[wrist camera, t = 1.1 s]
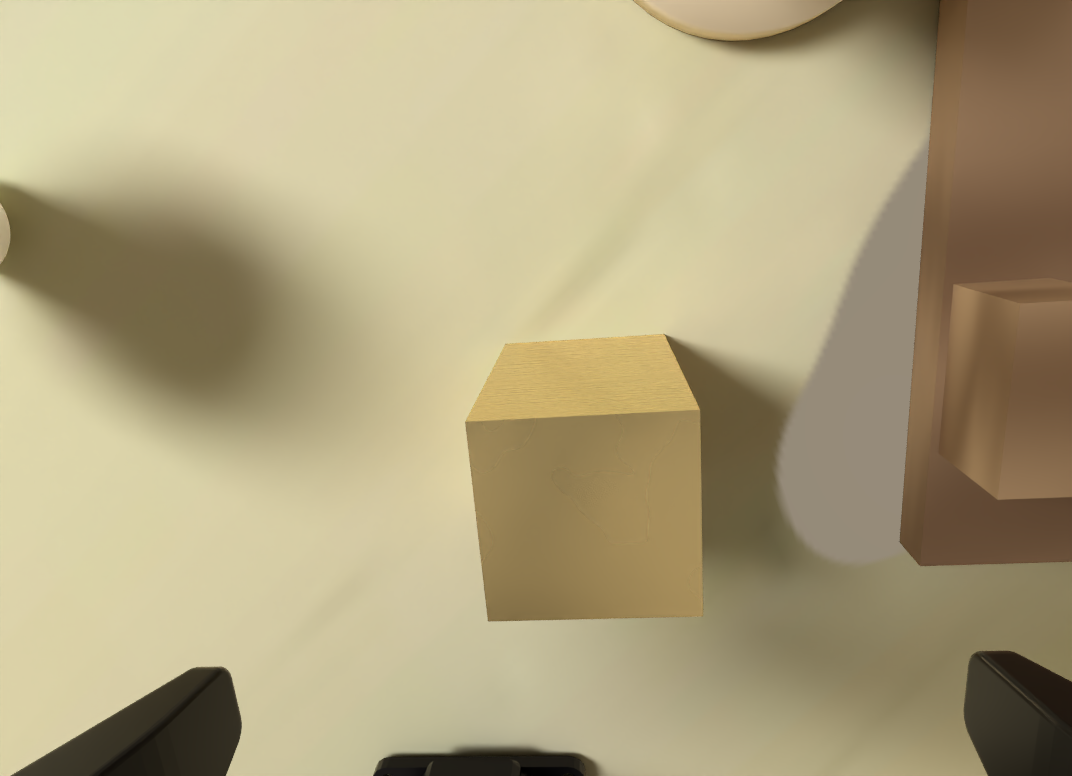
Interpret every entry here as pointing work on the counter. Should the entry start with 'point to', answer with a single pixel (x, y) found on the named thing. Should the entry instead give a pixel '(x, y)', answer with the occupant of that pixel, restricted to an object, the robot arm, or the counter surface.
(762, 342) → the counter surface
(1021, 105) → the notch board
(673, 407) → the tan block
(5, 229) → the lightbulb
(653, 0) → the bobbin
